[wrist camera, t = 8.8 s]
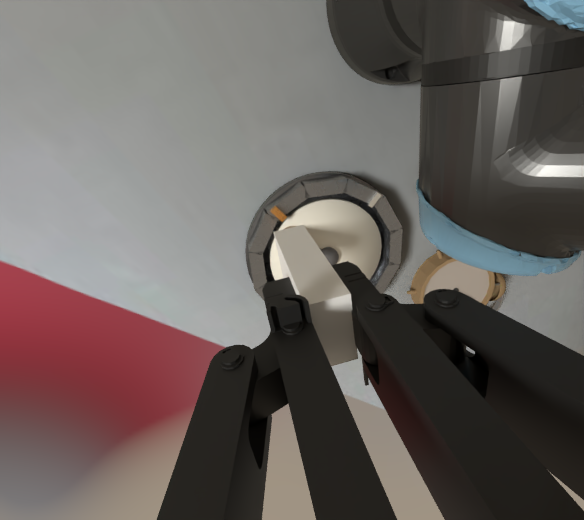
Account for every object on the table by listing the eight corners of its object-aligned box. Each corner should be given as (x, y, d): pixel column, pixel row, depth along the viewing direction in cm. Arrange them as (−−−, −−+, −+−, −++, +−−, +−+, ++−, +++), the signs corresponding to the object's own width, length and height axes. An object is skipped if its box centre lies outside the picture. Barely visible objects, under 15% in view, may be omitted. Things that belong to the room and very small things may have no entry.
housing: (347, 136, 39) (359, 139, 36) (415, 256, 48) (430, 268, 45) (211, 238, 41) (211, 251, 38) (302, 336, 50) (308, 352, 47)
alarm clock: (451, 241, 45) (534, 289, 48) (435, 231, 50) (511, 275, 53) (402, 307, 48) (483, 348, 51) (391, 292, 53) (466, 331, 56)
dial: (399, 230, 44) (442, 261, 36) (338, 315, 48) (364, 361, 40) (308, 175, 39) (334, 197, 30) (248, 276, 43) (256, 320, 34)
